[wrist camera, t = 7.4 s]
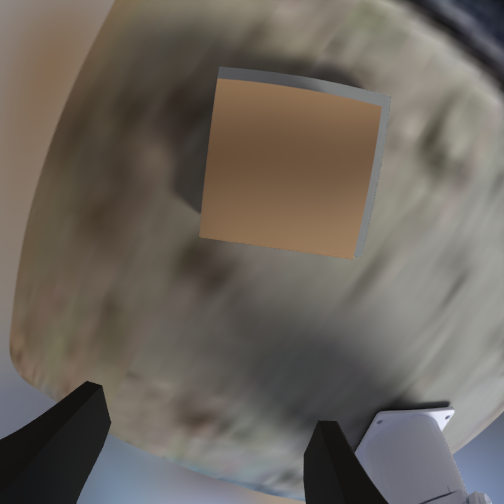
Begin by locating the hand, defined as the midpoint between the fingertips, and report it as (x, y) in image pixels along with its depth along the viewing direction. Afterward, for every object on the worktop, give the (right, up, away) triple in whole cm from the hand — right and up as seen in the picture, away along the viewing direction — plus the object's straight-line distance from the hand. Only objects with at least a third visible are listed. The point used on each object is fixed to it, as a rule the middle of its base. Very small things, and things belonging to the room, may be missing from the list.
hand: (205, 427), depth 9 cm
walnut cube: (+3, +10, +5) cm, 11 cm away
